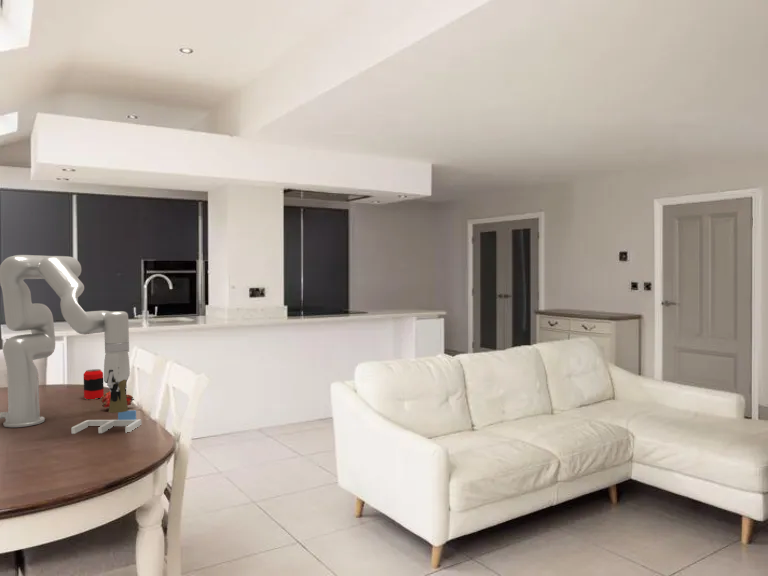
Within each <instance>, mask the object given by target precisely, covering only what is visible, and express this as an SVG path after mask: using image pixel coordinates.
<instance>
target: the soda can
mask: <svg viewBox="0 0 768 576" xmlns="http://www.w3.org/2000/svg"><path fill="white" fill-rule="evenodd" d="M104 391H105V390H104V371H102V370H101V369H99V368H97V369H96V368H95V369H87V370H85V372H84V373H83V399H84V398H86V399H95V398H101V397H102V396H104V395H105V392H104ZM101 399H102V398H101Z"/></svg>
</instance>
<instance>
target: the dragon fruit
mask: <svg viewBox="0 0 768 576" xmlns="http://www.w3.org/2000/svg"><path fill="white" fill-rule="evenodd" d="M126 397H127V405H128V406H131V404H132V401H135V398H134V397H133V395H130V394H126ZM110 398H111V394H110V390H109V391H108V392H104V396H102V398H101V399H100V402H101V404H102V408H109V406H110Z"/></svg>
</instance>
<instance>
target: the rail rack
mask: <svg viewBox="0 0 768 576" xmlns="http://www.w3.org/2000/svg"><path fill="white" fill-rule="evenodd" d="M127 425H128V426H127ZM140 425H141V426H142V419H141V418H140V419H139V418H138V419H137V410H135V409H134V410H128V411H125V412H119V413H117V419H87V420H84V421H81V422H80V423H77V424H76V425H74V426H72V427H71V433H70V434H72V435H75V434H77V433H79V432H81V431H83V430H84V429H87V428H89V427H88V426H100V427H97V430H98V431H97V432H98V433H97V434H103V433H106V432H107V431H109V430H110V429H112V428H114V427H124V429H125V430H124V431H125V434H128V433H127V432H130V433H131V432H133V431H135V430H136V429H138V428H139V427H141V426H140ZM113 426H114V427H113ZM137 427H138V428H137ZM135 428H136V429H135ZM108 429H109V430H108ZM134 429H135V430H134ZM132 430H133V431H132Z"/></svg>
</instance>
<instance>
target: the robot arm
mask: <svg viewBox="0 0 768 576" xmlns="http://www.w3.org/2000/svg"><path fill="white" fill-rule="evenodd" d="M81 273H82V265H81V262H79V260H78V259H77V258H75V257H73V256H67V255H66V256H65V255H39V254H38V255H36V254H35V255H32V254H16V255H13V256H12V255H11V256H8V257H6V258H5V259H4V260H3V261H2V262H1V263H0V287H1V291H2V300H3V309H4V310H3V311H4V319H5V325H6V327H7V329H8V330H10V331H13V332H24V331H25V332H26V331H31V333H26V334H25V333H24V334H19V335H14V336H11V337H9V338H7V340H5V342H4V343H3V346H2V354H3V357H4V360H5V367H6V380H7V404H8V405H7V407H8V409H7V410H8V411H3V412H2V411H0V419H5V421H4V422H3V426H4V427H5V428H24V427H31V426H36V425H41V424H42V423H44V422H45V421H46V420H45V419H46V418H45V416H40V386H39V384H40V382H39V381H40V380H39V370H38V368H37V365H36V364H35V363H34V361H35V360H41V359H46V358H49V357H50V356H52V355H53V353H54V352H55V350H56V335H55V334H56V333H55V325H54V316H53V313H52V311H51V309H50V308H49V307H48V306H47V305H46V304H44V303H41V302H40V303H35V302H34V303H33V302H32V295H31V294H32V293H31V290H30V288H29V286H28V284H27V283H26V282H25V281H24V280H40V279H41V280H44V281H45V282H46V283H47V284H48V285H49V286H50V288H51V289H52V290H53V291H54V293H56V295H57V296H58V298H59V299H60V311H61V315H62V317H63V319H64V320H65V322H67V324H68V325H69V326H70V328H72V329H73V330H74V331H75V332H76V333H78V334H80V335H92V334H100V333H101V334H102V333H104V354H105V356H104V364H103V383H105V384H106V386H107V387H108V388H109V391H110V394H111V401H113V402H116V401H117V400H118V397H119V400H120V399H121V391H119V388H120V387H119V382H121V381H123V380H124V379H125V380H126V382H127V384H128V380H129V378H130V376H131V375H130V373H131V372H130V370H131V369H130V359H129V358H130V357H129V352H130V334H129V333H130V332H129V327H130V326H129V313H128V312H127V311H122V310H121V311H120V310H119V311H115V310H114V311H111V310H110V311H109V310H91V311H85V310H84V309H83V308H82V306H81V305H80V304H79V302H78V300H77V299H78V298H79V297H80V296H81V295H82V294H83V292H84V290H85V285H84V283H83V282H82V280H80V279H79V277H80V276H81ZM113 380H116V382H113ZM114 384H117V386H116V385H114ZM127 384H126V387H125V393H126V394H127V388H128V386H127ZM126 399H127V397H126Z"/></svg>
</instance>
